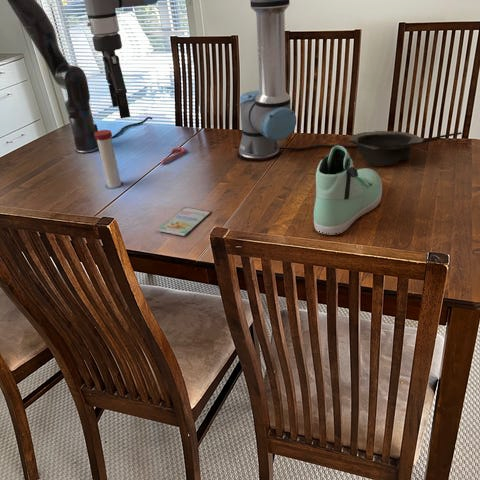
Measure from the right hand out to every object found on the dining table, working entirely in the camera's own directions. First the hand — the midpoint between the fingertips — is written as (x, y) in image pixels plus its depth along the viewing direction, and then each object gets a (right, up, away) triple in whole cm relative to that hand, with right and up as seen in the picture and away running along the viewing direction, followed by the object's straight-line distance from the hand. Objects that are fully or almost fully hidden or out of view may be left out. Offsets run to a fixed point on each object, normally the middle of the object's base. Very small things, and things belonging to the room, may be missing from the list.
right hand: (121, 111), depth 141 cm
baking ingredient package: (+19, -33, -3) cm, 38 cm away
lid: (-9, -3, +14) cm, 17 cm away
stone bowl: (+85, -9, +28) cm, 90 cm away
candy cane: (+9, -6, +42) cm, 43 cm away
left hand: (-60, +5, +14) cm, 61 cm away
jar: (-8, -19, +24) cm, 31 cm away
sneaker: (+66, -29, -2) cm, 73 cm away
